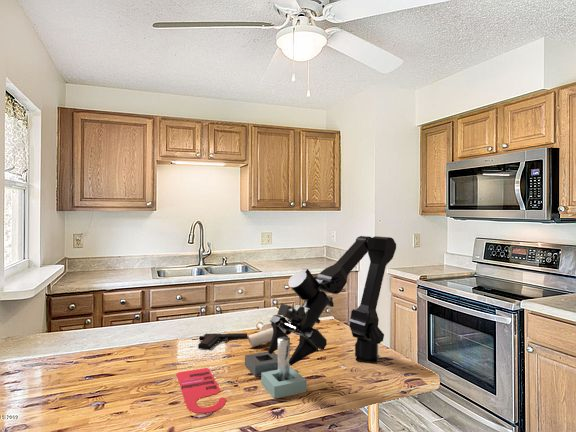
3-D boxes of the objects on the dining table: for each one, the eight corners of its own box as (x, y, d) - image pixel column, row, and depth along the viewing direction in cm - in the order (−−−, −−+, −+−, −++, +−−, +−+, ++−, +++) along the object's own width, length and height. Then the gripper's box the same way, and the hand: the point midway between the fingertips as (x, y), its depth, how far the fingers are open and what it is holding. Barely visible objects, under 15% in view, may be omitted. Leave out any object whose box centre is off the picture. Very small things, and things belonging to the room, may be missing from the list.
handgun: (249, 344, 131) (247, 331, 143) (198, 345, 128) (199, 332, 139) (249, 351, 131) (246, 338, 143) (197, 352, 128) (199, 338, 140)
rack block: (291, 377, 107) (291, 367, 107) (306, 391, 99) (306, 380, 99) (261, 383, 104) (261, 372, 104) (274, 398, 95) (274, 386, 95)
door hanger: (208, 367, 114) (230, 407, 91) (208, 369, 114) (230, 409, 91) (175, 372, 110) (189, 416, 87) (175, 374, 110) (189, 418, 87)
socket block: (272, 360, 120) (272, 350, 120) (284, 371, 112) (284, 360, 112) (244, 365, 116) (244, 355, 116) (255, 376, 108) (255, 366, 108)
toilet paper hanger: (283, 342, 133) (278, 323, 133) (253, 352, 130) (248, 333, 130) (269, 331, 153) (265, 314, 153) (243, 339, 150) (238, 322, 150)
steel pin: (289, 384, 103) (289, 336, 103) (290, 390, 100) (290, 340, 100) (277, 384, 103) (277, 336, 103) (277, 390, 100) (278, 340, 100)
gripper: (275, 286, 111) (242, 331, 104) (318, 298, 96) (282, 352, 90) (296, 309, 116) (266, 354, 109) (340, 324, 101) (308, 377, 94)
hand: (279, 358), depth 101 cm, fingers open, 9 cm apart
